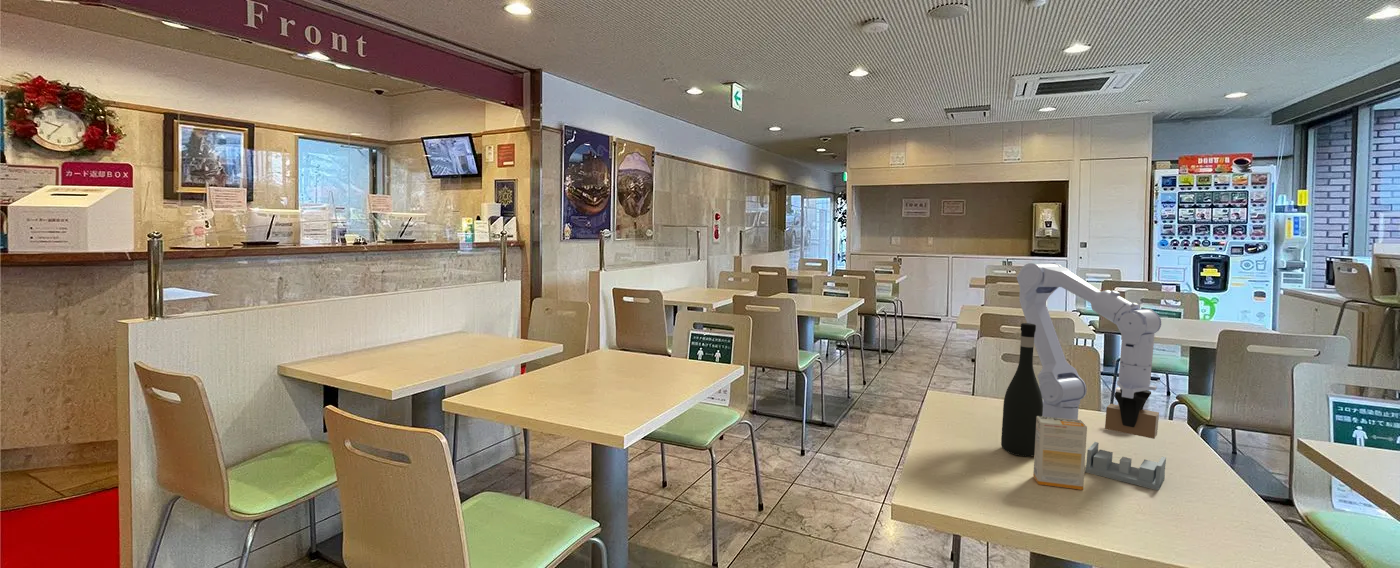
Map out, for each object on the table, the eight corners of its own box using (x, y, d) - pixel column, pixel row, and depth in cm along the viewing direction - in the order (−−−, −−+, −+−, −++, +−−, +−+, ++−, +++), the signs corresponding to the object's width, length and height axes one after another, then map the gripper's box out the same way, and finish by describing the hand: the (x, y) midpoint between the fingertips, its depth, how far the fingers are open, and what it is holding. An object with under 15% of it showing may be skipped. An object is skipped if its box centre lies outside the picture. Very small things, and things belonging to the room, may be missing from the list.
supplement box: (1077, 481, 124) (1081, 419, 123) (1083, 491, 119) (1088, 426, 118) (1031, 475, 127) (1036, 414, 125) (1036, 484, 122) (1040, 421, 121)
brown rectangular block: (1104, 428, 136) (1106, 407, 136) (1108, 424, 139) (1110, 403, 139) (1154, 438, 130) (1156, 416, 130) (1157, 434, 133) (1159, 412, 133)
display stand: (1085, 472, 129) (1086, 450, 129) (1093, 462, 135) (1095, 441, 134) (1158, 490, 120) (1160, 467, 120) (1164, 479, 126) (1166, 456, 126)
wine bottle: (1012, 443, 146) (1020, 320, 144) (1046, 453, 140) (1055, 324, 137) (993, 449, 142) (1001, 322, 139) (1027, 460, 135) (1036, 327, 133)
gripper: (1152, 371, 125) (1147, 435, 127) (1163, 361, 136) (1157, 420, 137) (1112, 366, 130) (1107, 427, 132) (1125, 356, 141) (1120, 413, 142)
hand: (1130, 423), depth 135 cm, fingers closed on brown rectangular block, 4 cm apart
